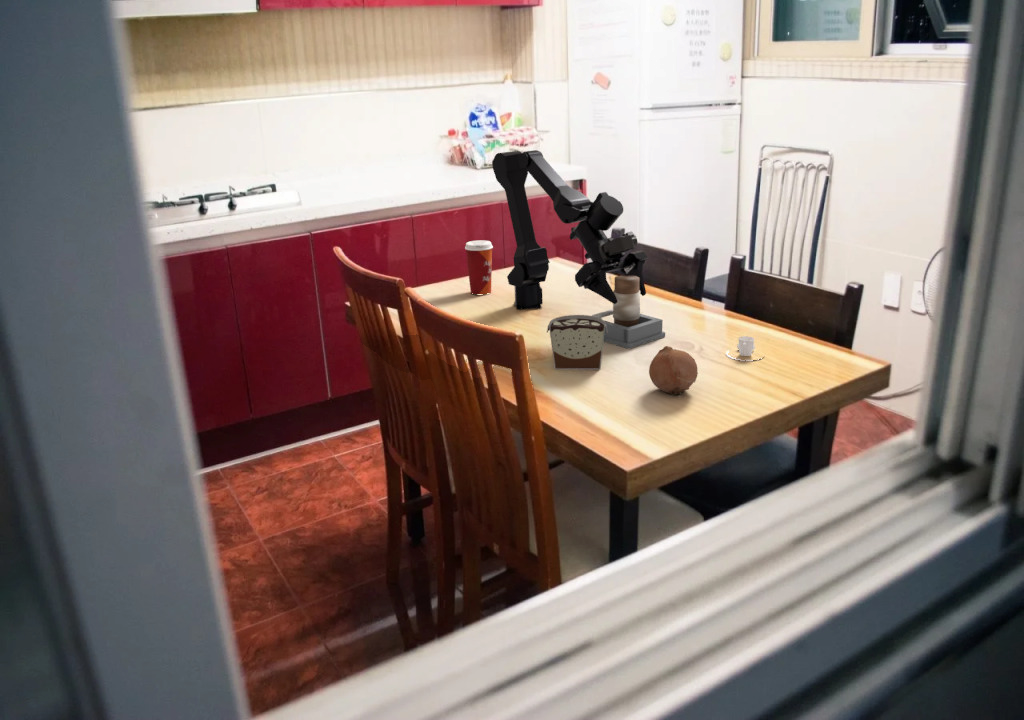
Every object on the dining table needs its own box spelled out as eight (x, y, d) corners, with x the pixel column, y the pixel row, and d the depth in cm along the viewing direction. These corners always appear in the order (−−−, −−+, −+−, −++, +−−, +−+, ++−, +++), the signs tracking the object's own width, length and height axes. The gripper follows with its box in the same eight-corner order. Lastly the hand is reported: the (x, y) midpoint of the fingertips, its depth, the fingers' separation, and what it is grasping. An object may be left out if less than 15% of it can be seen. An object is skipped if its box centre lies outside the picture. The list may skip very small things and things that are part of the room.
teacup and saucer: (740, 347, 181) (741, 329, 180) (773, 355, 176) (775, 336, 175) (718, 357, 176) (719, 339, 174) (751, 366, 170) (753, 347, 169)
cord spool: (611, 334, 187) (611, 280, 183) (614, 327, 193) (615, 274, 189) (637, 336, 186) (639, 281, 182) (640, 328, 191) (642, 275, 187)
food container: (607, 359, 176) (607, 313, 172) (607, 369, 170) (607, 322, 167) (549, 359, 177) (548, 314, 174) (547, 369, 171) (546, 323, 168)
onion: (657, 400, 162) (644, 352, 162) (702, 388, 160) (690, 340, 160) (655, 401, 153) (641, 351, 153) (703, 389, 151) (690, 338, 152)
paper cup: (494, 296, 225) (492, 245, 221) (466, 297, 226) (463, 246, 221) (495, 288, 233) (493, 239, 228) (468, 289, 233) (465, 240, 228)
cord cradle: (589, 336, 190) (589, 314, 188) (626, 325, 197) (627, 304, 196) (628, 349, 181) (628, 326, 180) (665, 336, 188) (666, 314, 187)
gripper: (583, 227, 178) (620, 286, 174) (642, 215, 189) (678, 270, 185) (559, 257, 187) (593, 314, 183) (617, 244, 198) (651, 298, 193)
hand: (630, 298), depth 186 cm, fingers open, 9 cm apart
